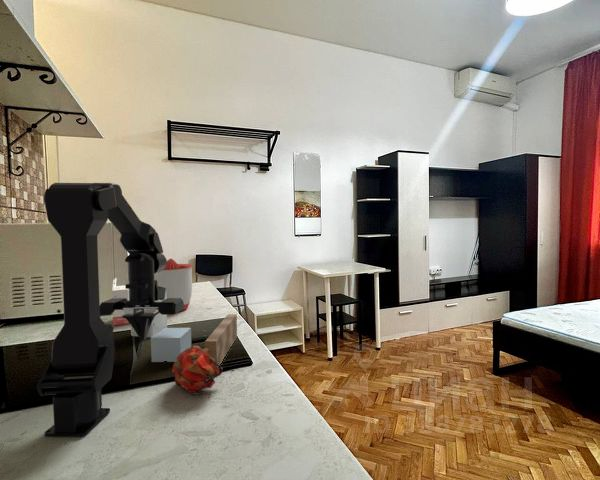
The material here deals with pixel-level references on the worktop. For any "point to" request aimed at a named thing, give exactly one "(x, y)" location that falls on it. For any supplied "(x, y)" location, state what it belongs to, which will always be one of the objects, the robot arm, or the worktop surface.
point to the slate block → (170, 344)
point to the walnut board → (222, 338)
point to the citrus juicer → (176, 281)
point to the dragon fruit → (195, 369)
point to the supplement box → (155, 323)
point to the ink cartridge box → (119, 293)
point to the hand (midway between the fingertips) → (143, 339)
